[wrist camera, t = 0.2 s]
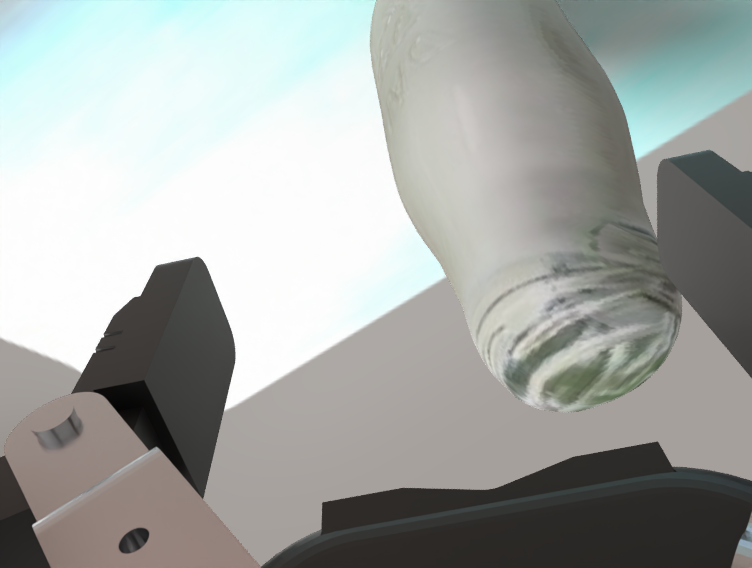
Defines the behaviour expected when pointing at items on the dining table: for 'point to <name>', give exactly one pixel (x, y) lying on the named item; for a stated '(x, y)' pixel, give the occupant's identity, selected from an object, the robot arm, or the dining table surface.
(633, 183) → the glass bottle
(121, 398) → the robot arm
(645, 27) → the dining table surface
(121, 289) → the dining table surface
